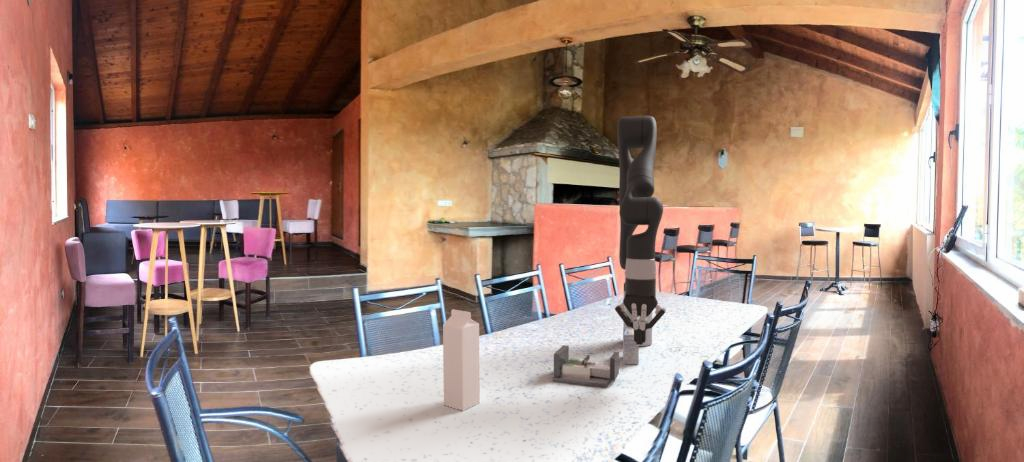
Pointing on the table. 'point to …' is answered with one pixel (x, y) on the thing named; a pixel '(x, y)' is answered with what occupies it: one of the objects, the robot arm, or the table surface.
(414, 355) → the table surface
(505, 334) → the table surface
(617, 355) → the plunger
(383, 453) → the table surface
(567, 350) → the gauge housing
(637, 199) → the robot arm
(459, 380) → the milk
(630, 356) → the medicine box
